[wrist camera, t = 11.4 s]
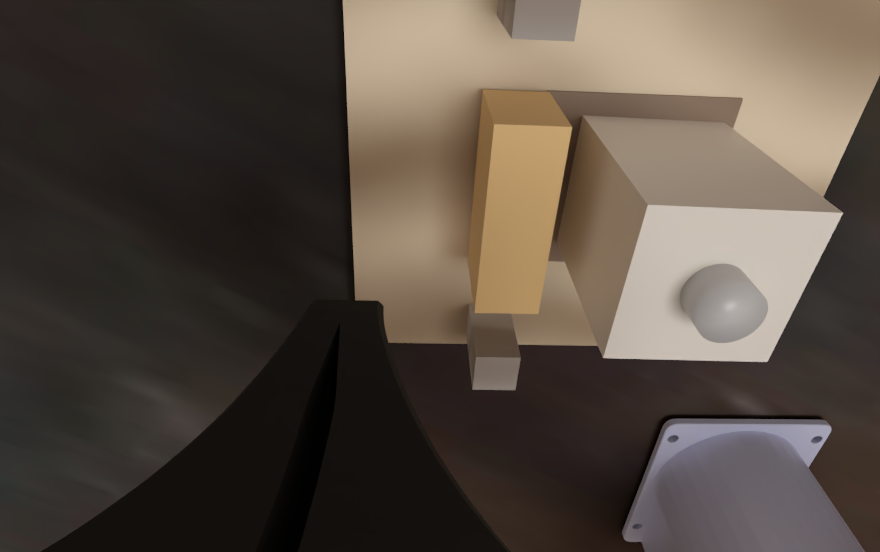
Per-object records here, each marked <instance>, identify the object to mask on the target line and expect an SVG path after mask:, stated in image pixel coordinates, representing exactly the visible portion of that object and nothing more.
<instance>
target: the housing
mask: <svg viewBox="0 0 880 552" xmlns="http://www.w3.org/2000/svg"><path fill="white" fill-rule="evenodd" d="M842 214H843V212H841V211H840V210H839V209H837V208H836V207H835V206H833V205H832V204H831V203H829V202H828V201H827V200H826V199H824V198H823V197H822V196H820V195H819V194H818V193H816V192H815V191H814V190H812V189H811V188H810V187H808V186H807V185H806V184H805V183H803V182H802V181H801V180H799V179H798V178H797V177H795V176H794V175H793V174H791V173H790V172H789V171H788V170H786V169H785V168H784V167H782V166H781V165H780V164H778V163H777V162H776V161H774V160H773V159H772V158H770V157H769V156H768V155H767V154H765V153H764V152H763V151H761V150H760V149H759V148H757V147H756V146H755V145H753V144H752V143H751V142H749V141H748V140H747V139H746V138H744V137H743V136H742V135H740V134H739V133H738V132H736V131H735V130H734V129H732V128H731V127H730V126H729V125H727V124H726V123H724V122H705V121H685V120H665V119H646V118H626V117H606V116H587V115H583V116H582V121H581V126H580V131H579V135H578V140H577V145H576V150H575V155H574V160H573V165H572V170H571V175H570V180H569V185H568V190H567V194H566V199H565V204H564V209H563V214H562V219H561V224H560V229H559V234H558V239H557V244H558V246H559V249H560V251H561V254H562V256H563V259H564V261H565V264H566V266H567V269H568V271H569V274H570V276H571V279H572V281H573V284H574V286H575V289H576V291H577V294H578V296H579V299H580V301H581V304H582V306H583V309H584V312H585V314H586V317H587V319H588V322H589V324H590V327H591V329H592V332H593V334H594V337H595V339H596V342H597V344H598V347H599V349H600V352H601V354H602V357H603V358H619V359H662V360H704V361H746V362H768V360H769V358H770V356H771V354H772V352H773V350H774V348H775V346H776V344H777V342H778V340H779V338H780V336H781V334H782V332H783V330H784V328H785V326H786V324H787V322H788V320H789V318H790V316H791V314H792V312H793V310H794V308H795V306H796V304H797V302H798V301H799V299H800V297H801V295H802V293H803V291H804V289H805V287H806V285H807V283H808V281H809V279H810V277H811V275H812V273H813V271H814V269H815V267H816V265H817V263H818V261H819V259H820V257H821V255H822V253H823V251H824V249H825V247H826V245H827V243H828V241H829V240H830V238H831V236H832V234H833V232H834V230H835V228H836V226H837V224H838V222H839V220H840V218H841V216H842Z"/></svg>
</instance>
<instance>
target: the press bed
mask: <svg viewBox="0 0 880 552" xmlns="http://www.w3.org/2000/svg"><path fill="white" fill-rule="evenodd" d="M343 18H344V42H345V66H346V90H347V114H348V138H349V162H350V186H351V210H352V234H353V258H354V282H355V300H367V301H379V302H380V303H381V304H382V305H383V306H384V326H385V331H386V335H387V339H388V343H444V344H467V345H468V354H469V363H470V372H471V381H472V390H515V389H516V383H517V377H518V371H519V365H520V359H521V356H520V352H519V348H518V345H582V346H598V344H597V342H596V339H595V337H594V334H593V332H592V329H591V327H590V324H589V322H588V319H587V317H586V314H585V312H584V309H583V306H582V304H581V301H580V299H579V296H578V294H577V291H576V289H575V286H574V284H573V281H572V279H571V276H570V274H569V271H568V269H567V266H566V264H565V261H564V259H563V256H562V254H561V251H560V249H559V246H558V244H557V239H558V234H559V229H560V224H561V219H562V214H563V209H564V204H565V199H566V194H567V190H568V185H569V180H570V175H571V170H572V165H573V160H574V155H575V150H576V145H577V140H578V135H579V131H580V126H581V121H582V116H583V115H587V116H606V117H626V118H646V119H665V120H685V121H705V122H724V123H726V124H727V125H729V126H730V127H731V128H732V129H734V130H735V131H736V132H738V133H739V134H740V135H742V136H743V137H744V138H746V139H747V140H748V141H749V142H751V143H752V144H753V145H755V146H756V147H757V148H759V149H760V150H761V151H763V152H764V153H765V154H767V155H768V156H769V157H770V158H772V159H773V160H774V161H776V162H777V163H778V164H780V165H781V166H782V167H784V168H785V169H786V170H788V171H789V172H790V173H791V174H793V175H794V176H795V177H797V178H798V179H799V180H801V181H802V182H803V183H805V184H806V185H807V186H808V187H810V188H811V189H812V190H814V191H815V192H816V193H818V194H819V195H820V196H822V197H823V196H824V194H825V192H826V190H827V188H828V186H829V183H830V181H831V179H832V177H833V175H834V173H835V171H836V168H837V166H838V164H839V162H840V160H841V158H842V155H843V153H844V151H845V149H846V147H847V145H848V143H849V140H850V138H851V136H852V134H853V132H854V130H855V127H856V125H857V123H858V121H859V119H860V117H861V114H862V112H863V110H864V108H865V106H866V104H867V102H868V99H869V97H870V95H871V93H872V91H873V89H874V86H875V84H876V82H877V80H878V78H879V76H880V0H343ZM483 90H508V91H534V92H550V93H551V95H552V97H553V98H554V100H555V101H556V103H557V104H558V106H559V107H560V109H561V110H562V112H563V113H564V115H565V116H566V118H567V120H568V121H569V123H570V124H571V126H572V132H571V137H570V143H569V148H568V154H567V159H566V165H565V170H564V176H563V181H562V187H561V192H560V198H559V203H558V209H557V214H556V220H555V225H554V231H553V236H552V242H551V247H550V253H549V258H548V264H547V269H546V275H545V280H544V286H543V291H542V297H541V302H540V308H539V313H538V314H501V313H474V305H473V298H472V291H471V283H470V276H469V269H468V262H467V260H468V249H469V237H470V226H471V215H472V204H473V193H474V181H475V170H476V159H477V148H478V136H479V125H480V114H481V103H482V92H483Z"/></svg>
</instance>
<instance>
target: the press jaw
mask: <svg viewBox="0 0 880 552" xmlns="http://www.w3.org/2000/svg"><path fill="white" fill-rule="evenodd" d="M571 132H572V126H571V124H570V123H569V121H568V120H567V118H566V116H565V115H564V113H563V112H562V110H561V109H560V107H559V106H558V104H557V103H556V101H555V100H554V98H553V97H552V95H551V93H550V92H534V91H508V90H483V92H482V103H481V114H480V125H479V136H478V148H477V159H476V170H475V181H474V193H473V204H472V215H471V226H470V237H469V249H468V260H467V262H468V269H469V276H470V283H471V291H472V298H473V305H474V313H501V314H538V313H539V308H540V302H541V297H542V291H543V286H544V280H545V275H546V269H547V264H548V258H549V253H550V247H551V242H552V236H553V231H554V225H555V220H556V214H557V209H558V203H559V198H560V192H561V187H562V181H563V176H564V170H565V165H566V159H567V154H568V148H569V143H570V137H571Z"/></svg>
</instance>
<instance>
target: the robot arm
mask: <svg viewBox="0 0 880 552" xmlns="http://www.w3.org/2000/svg"><path fill="white" fill-rule="evenodd" d="M831 430H832V429H831V426H830V425H829V424H828V422H827V421H825V420H812V419H670V420H668V421H667V422H665V423H664V425H663V427H662V429H661V432H660V435H659V437H658V440H657V442H656V445H655V447H654V450H653V453H652V455H651V458H650V460H649V463H648V466H647V468H646V471H645V473H644V476H643V478H642V481H641V484H640V486H639V489H638V491H637V494H636V497H635V499H634V502H633V504H632V507H631V510H630V512H629V515H628V517H627V520H626V522H625V525H624V528H623V530H622V535H623V538H624V540H626V541H628V542H642V545H643V548H644V551H645V552H865V551H864V550H863V548H862V547H861V545H860V544H859V542H858V541H857V539H856V538H855V536H854V535H853V533H852V532H851V530H850V529H849V527H848V526H847V524H846V523H845V521H844V520H843V518H842V517H841V516H840V514H839V513H838V511H837V510H836V508H835V507H834V505H833V504H832V502H831V501H830V499H829V498H828V496H827V495H826V493H825V492H824V490H823V489H822V487H821V486H820V484H819V483H818V481H817V480H816V479H815V477H814V476H813V474H812V473H811V471H810V470H809V468H808V467H809V466H810V464H811V463H812V461H813V459H814V458H815V456H816V455H817V453H818V451H819V450H820V448H821V447H822V445H823V444H824V442H825V440H826V439H827V437H828V436H829V434H830V432H831ZM41 552H510V551H509V549H508V548H507V547H506V546H505V545H504V543H503V542H502V541H501V540H500V539H499V538H498V536H497V535H496V534H495V533H494V532H493V530H492V529H491V528H490V526H489V525H488V524H487V523H486V521H485V520H484V519H483V518H482V516H481V515H480V514H479V512H478V511H477V510H476V509H475V507H474V506H473V505H472V503H471V502H470V500H469V499H468V497H467V496H466V495H465V493H464V492H463V490H462V489H461V487H460V486H459V485H458V483H457V482H456V480H455V479H454V477H453V476H452V474H451V473H450V472H449V470H448V469H447V467H446V466H445V464H444V462H443V461H442V459H441V457H440V456H439V454H438V453H437V451H436V449H435V448H434V446H433V444H432V442H431V441H430V439H429V437H428V435H427V433H426V432H425V430H424V428H423V426H422V424H421V422H420V420H419V418H418V417H417V414H416V412H415V410H414V408H413V406H412V404H411V402H410V400H409V397H408V395H407V393H406V391H405V388H404V386H403V383H402V381H401V379H400V376H399V373H398V370H397V368H396V365H395V362H394V359H393V356H392V353H391V350H390V347H389V343H388V339H387V335H386V331H385V326H384V306H383V305H382V304H381V303H380V302H379V301H367V300H315V301H314V302H313V303H312V304H310V306H309V308H308V309H307V311H306V312H305V314H304V315H303V317H302V318H301V320H300V321H299V322H298V324H297V325H296V327H295V328H294V330H293V331H292V332H291V334H290V335H289V336H288V338H287V339H286V340H285V342H284V343H283V344H282V346H281V347H280V348H279V349H278V351H277V352H276V353H275V354H274V356H273V357H272V358H271V359H270V361H269V362H268V363H267V364H266V366H265V367H264V368H263V369H262V370H261V372H260V373H259V374H258V375H257V376H256V377H255V378H254V380H253V381H252V382H251V383H250V384H249V385H248V386H247V387H246V388H245V389H244V391H243V392H242V393H241V394H240V395H239V396H238V397H237V398H236V399H235V401H234V402H233V403H232V404H231V405H230V406H229V407H228V408H227V409H226V410H225V411H224V412H223V413H222V414H221V415H220V416H219V417H218V418H217V419H216V420H215V421H214V422H213V423H212V424H211V425H210V426H209V427H207V428H206V429H205V430H204V431H203V432H202V433H201V434H200V435H199V436H198V437H197V438H196V439H195V440H193V441H192V442H191V443H190V444H189V445H188V446H187V447H185V448H184V449H183V450H182V451H181V452H179V453H178V454H177V455H176V456H175V457H174V458H172V459H171V460H170V461H169V462H168V463H166V464H165V465H164V466H163V467H162V468H161V469H159V470H158V471H157V472H156V473H154V474H153V475H152V476H151V477H149V478H148V479H147V480H145V481H144V482H143V483H142V484H140V485H139V486H138V487H136V488H135V489H133V490H132V491H131V492H129V493H128V494H127V495H125V496H124V497H122V498H121V499H120V500H118V501H117V502H115V503H114V504H113V505H111V506H110V507H108V508H107V509H106V510H104V511H103V512H102V513H100V514H99V515H97V516H96V517H94V518H93V519H91V520H90V521H88V522H87V523H86V524H84V525H82V526H81V527H79V528H78V529H76V530H75V531H73V532H72V533H70V534H69V535H67V536H66V537H64V538H62V539H61V540H59V541H57V542H56V543H54V544H53V545H51V546H49V547H48V548H46V549H44V550H43V551H41Z"/></svg>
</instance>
